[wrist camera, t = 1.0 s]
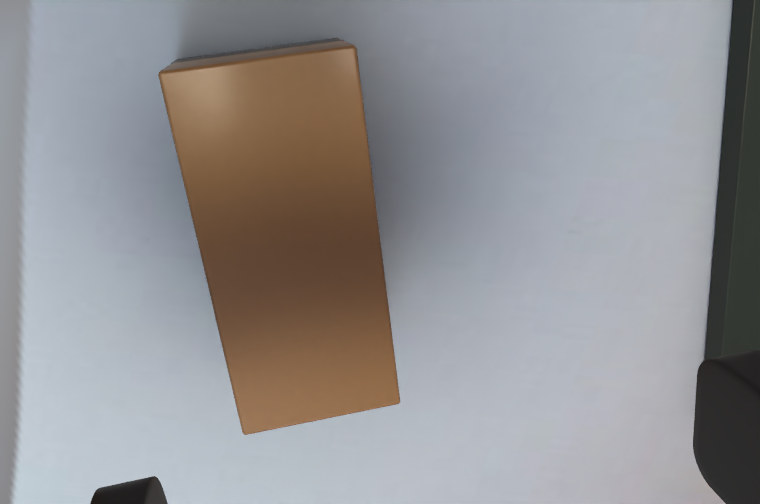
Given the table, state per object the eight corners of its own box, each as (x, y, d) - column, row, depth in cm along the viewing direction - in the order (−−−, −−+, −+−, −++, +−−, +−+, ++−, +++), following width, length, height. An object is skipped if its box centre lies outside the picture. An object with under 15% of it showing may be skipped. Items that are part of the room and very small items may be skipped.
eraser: (175, 58, 20) (156, 71, 16) (338, 37, 20) (356, 44, 17) (245, 370, 24) (243, 436, 20) (379, 344, 24) (401, 404, 21)
